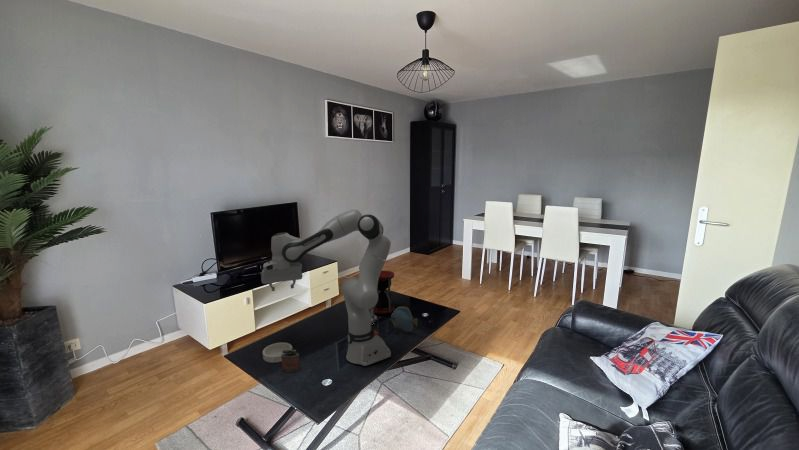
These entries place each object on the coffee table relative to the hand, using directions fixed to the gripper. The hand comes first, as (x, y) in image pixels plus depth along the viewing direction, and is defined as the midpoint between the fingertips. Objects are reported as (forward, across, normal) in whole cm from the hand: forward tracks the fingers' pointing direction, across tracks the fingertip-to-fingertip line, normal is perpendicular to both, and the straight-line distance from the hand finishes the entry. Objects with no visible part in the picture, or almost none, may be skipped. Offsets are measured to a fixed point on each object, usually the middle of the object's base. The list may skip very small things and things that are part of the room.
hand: (282, 289), depth 176 cm
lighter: (+31, 0, +25) cm, 40 cm away
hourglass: (+31, -64, -22) cm, 75 cm away
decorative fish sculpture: (+31, -64, +11) cm, 72 cm away
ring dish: (+31, +5, +9) cm, 33 cm away
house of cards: (+32, -53, -8) cm, 63 cm away
